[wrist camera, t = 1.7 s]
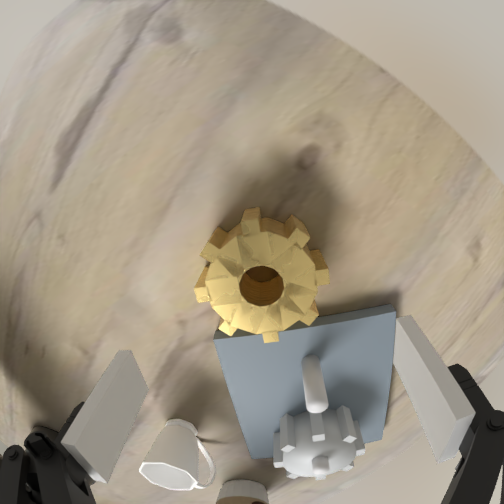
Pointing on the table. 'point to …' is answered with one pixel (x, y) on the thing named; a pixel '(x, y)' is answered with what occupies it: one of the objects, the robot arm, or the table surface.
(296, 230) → the brass gear
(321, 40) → the table surface
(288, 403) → the gear board
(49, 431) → the robot arm
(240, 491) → the coffee cup
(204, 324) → the table surface
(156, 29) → the table surface
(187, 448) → the cup
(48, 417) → the table surface
